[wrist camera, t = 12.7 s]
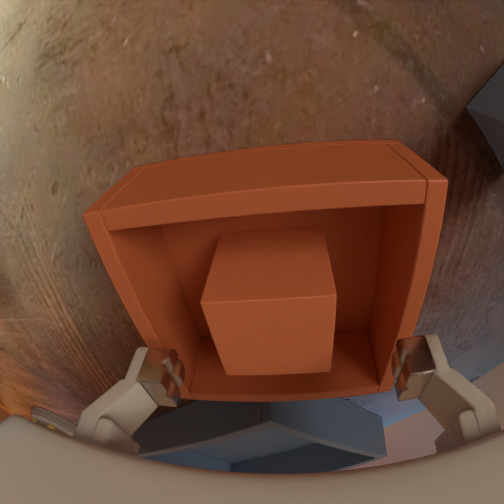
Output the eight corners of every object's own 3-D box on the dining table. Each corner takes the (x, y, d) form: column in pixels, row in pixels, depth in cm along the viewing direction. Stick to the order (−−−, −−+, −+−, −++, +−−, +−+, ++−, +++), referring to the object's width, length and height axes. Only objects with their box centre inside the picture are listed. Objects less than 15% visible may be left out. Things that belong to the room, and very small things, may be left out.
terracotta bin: (397, 139, 11) (449, 179, 7) (376, 329, 17) (391, 391, 14) (134, 167, 13) (81, 214, 9) (195, 338, 19) (180, 398, 15)
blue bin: (272, 361, 20) (270, 420, 16) (381, 416, 25) (387, 456, 21) (136, 424, 31) (127, 455, 27) (233, 461, 36) (230, 488, 32)
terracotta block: (321, 224, 13) (337, 295, 9) (322, 299, 16) (331, 371, 12) (220, 232, 14) (199, 302, 10) (237, 305, 16) (226, 375, 12)
